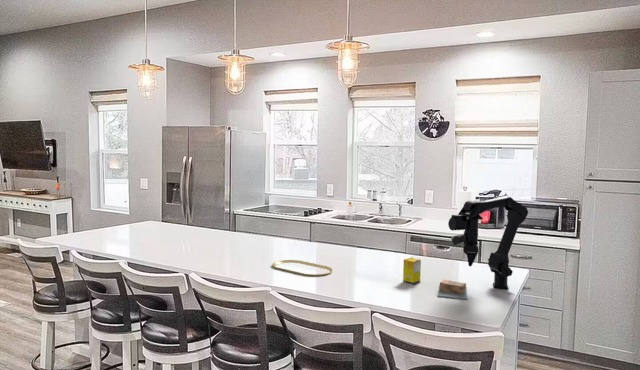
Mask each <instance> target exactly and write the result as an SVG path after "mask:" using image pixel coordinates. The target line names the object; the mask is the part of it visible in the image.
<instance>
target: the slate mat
mask: <svg viewBox="0 0 640 370" xmlns="http://www.w3.org/2000/svg"><path fill="white" fill-rule="evenodd" d="M467 295H468V292H467V286H466V291H465V292H464V293H463V294H456V293H450V292H444V291H440V284H439V285H438V292H437V298H445V299H453V300H454V299H455V300H463V301H464V300H466V301H467V299H468V296H467Z"/></svg>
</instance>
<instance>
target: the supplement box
mask: <svg viewBox="0 0 640 370" xmlns="http://www.w3.org/2000/svg"><path fill="white" fill-rule="evenodd" d="M421 264H422V260H421V259H419V258H414V257H409V258H403V270H402V272H403V273H402V275H403V276H402V282H403V283H406V284H410V285H415V284H418V283H421V268H422V267H421V266H422V265H421Z"/></svg>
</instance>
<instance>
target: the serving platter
mask: <svg viewBox="0 0 640 370" xmlns="http://www.w3.org/2000/svg"><path fill="white" fill-rule="evenodd" d="M286 263H288V264H289V263H293V264H301V265H305V266H310V267H314V268H320V269H324V270H326V269H327V271H328V270H329V271H330V272H329V271H328V272H325V273H318V274H317V273H314V274H313V273H312V274H311V273H305V272H300V271H295V270H292V269H286V268H282V267H277V265H281V264H286ZM272 267H273V268H275V269H276V270H279V271H284V272H289V273H292V272H293V274H296V273H297V275H301V276H305V275H306V277H323V276H326V275H330V274H331V273H332V272H333V269H332V267H330V266H328V265H321V264H318V263H314V262H309V261H303V260H298V259H297V260H296V259H284V260H277V261H274V262H273V263H272Z"/></svg>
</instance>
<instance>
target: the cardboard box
mask: <svg viewBox="0 0 640 370" xmlns="http://www.w3.org/2000/svg"><path fill="white" fill-rule="evenodd" d="M439 285H440V291H444V292H450V293H456V294H463V293H464V292H465V291H466V287H467V283H466V282H460V281H453V280H449V279H442V280H441V281H440V282H439Z"/></svg>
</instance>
